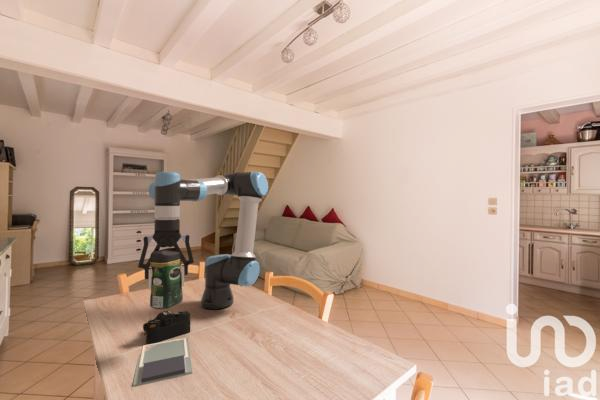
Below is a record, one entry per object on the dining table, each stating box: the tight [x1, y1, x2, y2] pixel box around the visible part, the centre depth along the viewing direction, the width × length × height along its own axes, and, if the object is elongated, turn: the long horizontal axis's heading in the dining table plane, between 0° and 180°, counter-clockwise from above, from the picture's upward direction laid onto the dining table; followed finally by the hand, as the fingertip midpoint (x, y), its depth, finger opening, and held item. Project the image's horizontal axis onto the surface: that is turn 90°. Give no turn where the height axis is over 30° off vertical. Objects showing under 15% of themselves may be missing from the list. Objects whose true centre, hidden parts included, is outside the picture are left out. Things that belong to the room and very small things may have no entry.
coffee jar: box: [149, 247, 184, 311], centre depth 92 cm, size 10×8×19 cm
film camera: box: [142, 309, 191, 345], centre depth 103 cm, size 18×12×10 cm
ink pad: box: [140, 355, 187, 383], centre depth 82 cm, size 12×8×1 cm
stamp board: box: [132, 337, 193, 387], centre depth 88 cm, size 15×22×1 cm
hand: (166, 286), depth 92 cm, fingers closed on coffee jar, 9 cm apart
